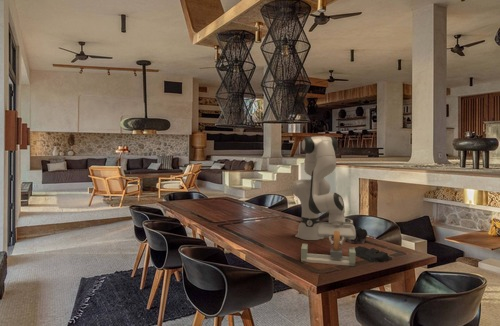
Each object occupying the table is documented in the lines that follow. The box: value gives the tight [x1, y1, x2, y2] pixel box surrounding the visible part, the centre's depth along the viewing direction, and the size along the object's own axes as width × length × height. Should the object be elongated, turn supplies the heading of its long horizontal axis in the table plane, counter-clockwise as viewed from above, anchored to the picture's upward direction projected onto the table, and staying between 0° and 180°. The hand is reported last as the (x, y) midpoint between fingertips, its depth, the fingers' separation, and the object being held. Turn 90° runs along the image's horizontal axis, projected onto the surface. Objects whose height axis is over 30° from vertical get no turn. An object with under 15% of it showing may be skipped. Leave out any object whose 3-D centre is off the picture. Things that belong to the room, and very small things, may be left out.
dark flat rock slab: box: [347, 245, 392, 264], centre depth 213 cm, size 15×22×5 cm
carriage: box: [329, 231, 343, 258], centre depth 201 cm, size 8×6×13 cm
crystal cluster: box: [345, 226, 368, 245], centre depth 243 cm, size 13×14×10 cm
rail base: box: [300, 243, 357, 267], centre depth 202 cm, size 10×28×7 cm, turn 78°
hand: (336, 244), depth 200 cm, fingers closed on carriage, 3 cm apart
